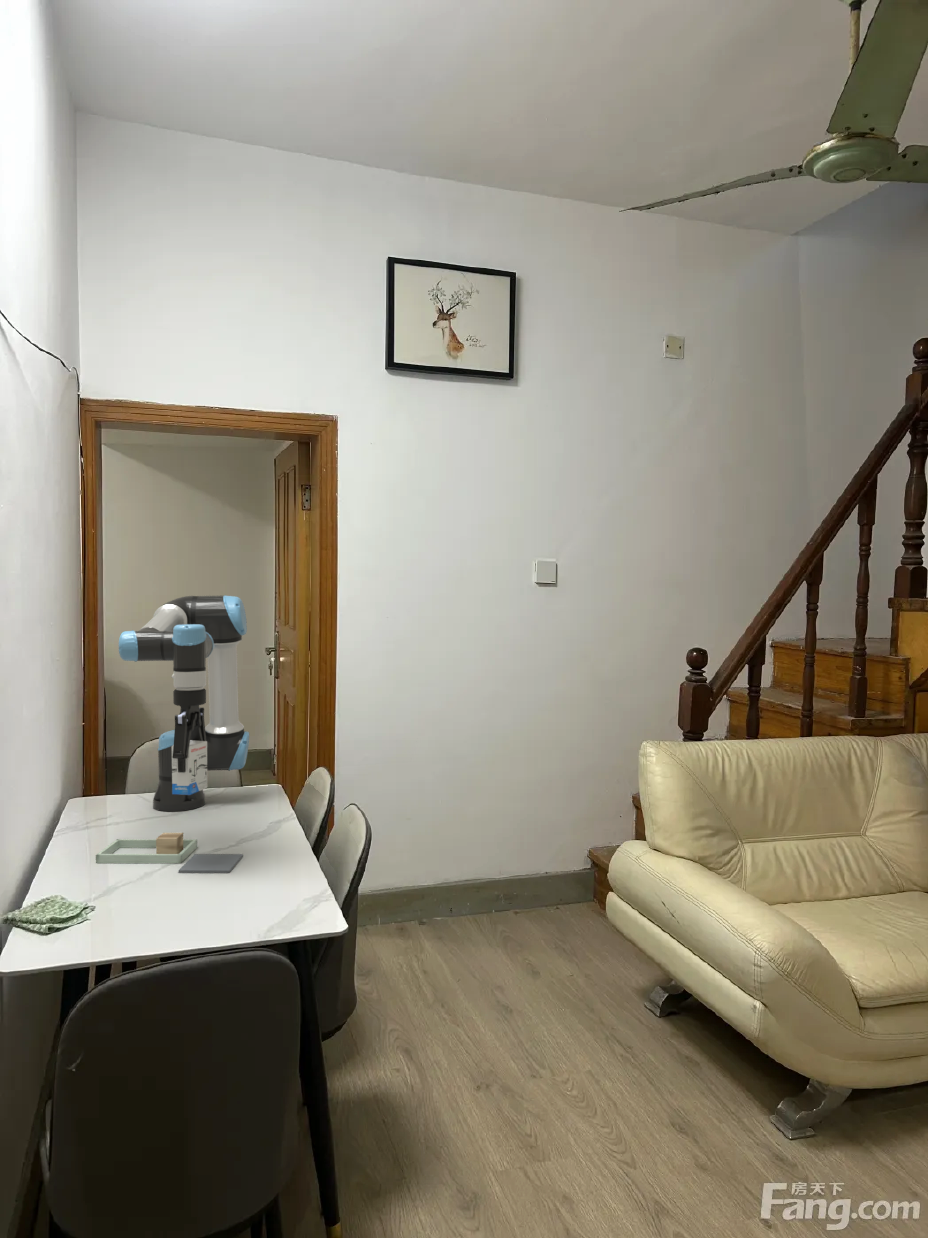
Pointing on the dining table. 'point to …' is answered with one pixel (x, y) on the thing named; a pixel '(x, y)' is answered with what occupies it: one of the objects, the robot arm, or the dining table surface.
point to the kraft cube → (169, 843)
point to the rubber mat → (211, 863)
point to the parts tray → (108, 857)
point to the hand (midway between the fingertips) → (190, 780)
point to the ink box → (192, 769)
